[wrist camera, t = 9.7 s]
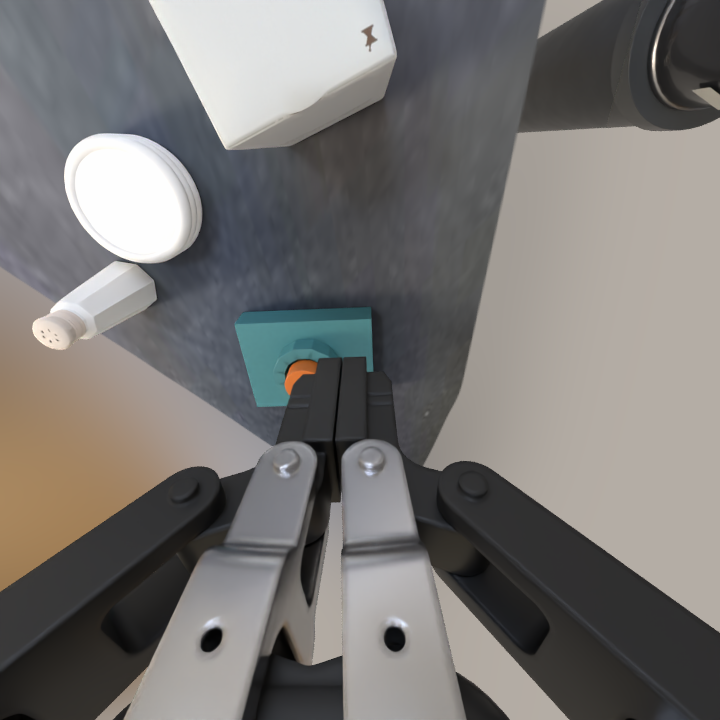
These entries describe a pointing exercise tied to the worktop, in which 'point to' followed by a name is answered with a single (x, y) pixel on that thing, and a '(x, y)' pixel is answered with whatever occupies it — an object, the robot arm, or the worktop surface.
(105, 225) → the white round stack
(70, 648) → the robot arm
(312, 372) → the orange button cap
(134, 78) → the worktop surface
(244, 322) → the button base
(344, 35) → the rectangular carton
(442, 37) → the worktop surface
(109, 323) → the pepper shaker
